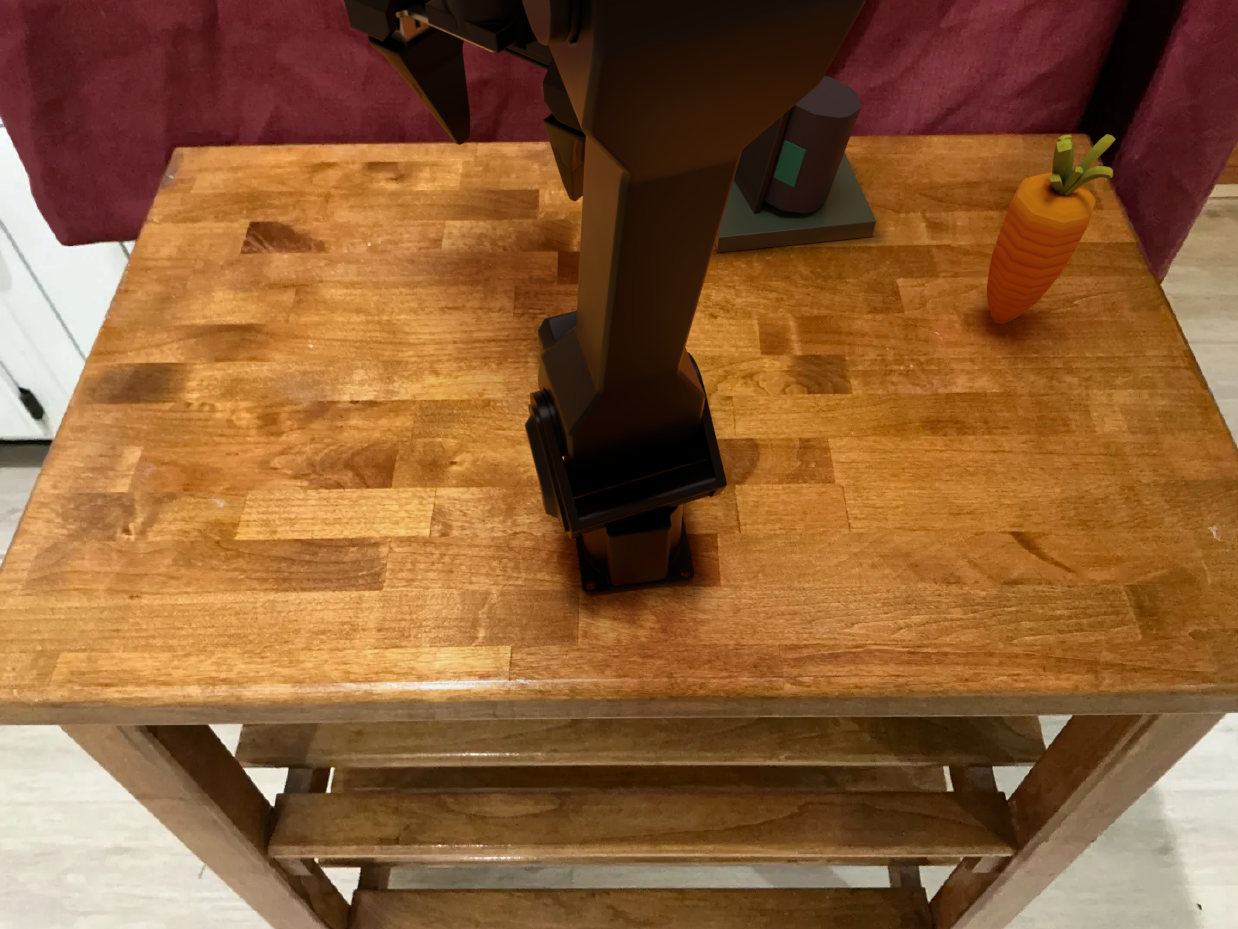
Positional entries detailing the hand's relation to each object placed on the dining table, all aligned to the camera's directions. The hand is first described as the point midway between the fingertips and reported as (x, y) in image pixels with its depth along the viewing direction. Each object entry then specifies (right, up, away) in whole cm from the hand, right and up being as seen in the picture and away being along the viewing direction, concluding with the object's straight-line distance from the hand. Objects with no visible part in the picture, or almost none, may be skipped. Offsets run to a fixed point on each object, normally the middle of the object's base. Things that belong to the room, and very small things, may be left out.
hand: (518, 167), depth 55 cm
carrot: (+33, -8, +9) cm, 35 cm away
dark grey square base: (+19, +3, +16) cm, 25 cm away
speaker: (+19, +3, +15) cm, 24 cm away
